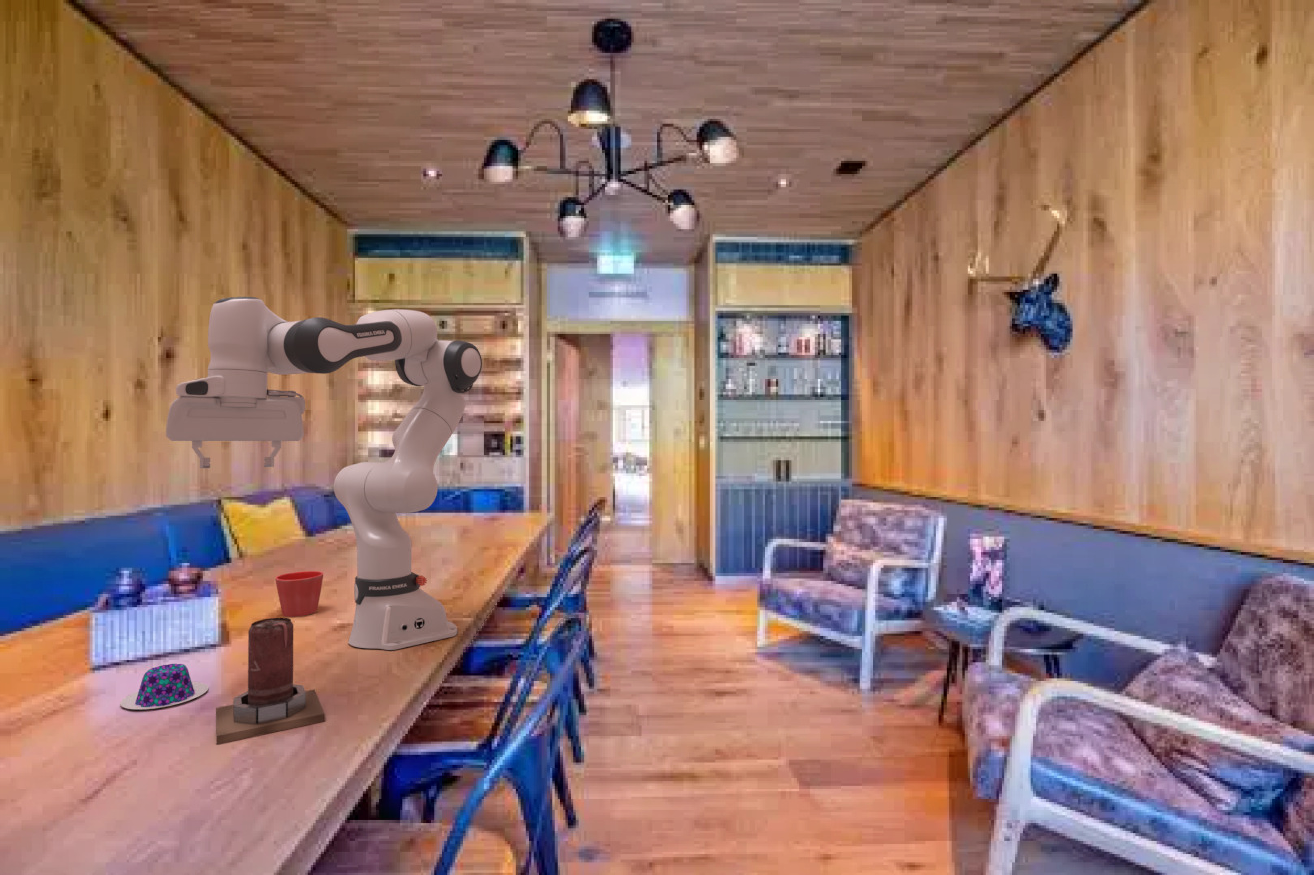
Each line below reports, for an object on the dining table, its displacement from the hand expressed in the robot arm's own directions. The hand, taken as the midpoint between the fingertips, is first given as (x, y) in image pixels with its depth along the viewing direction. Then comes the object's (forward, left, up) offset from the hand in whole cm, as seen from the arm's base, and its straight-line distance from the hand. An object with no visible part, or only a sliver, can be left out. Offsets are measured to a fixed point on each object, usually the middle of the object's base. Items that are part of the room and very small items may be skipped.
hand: (237, 467), depth 115 cm
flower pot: (-15, -52, -39) cm, 67 cm away
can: (-4, +16, -38) cm, 42 cm away
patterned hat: (+10, -3, -40) cm, 41 cm away
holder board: (-4, +16, -39) cm, 42 cm away
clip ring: (-4, +16, -38) cm, 41 cm away
